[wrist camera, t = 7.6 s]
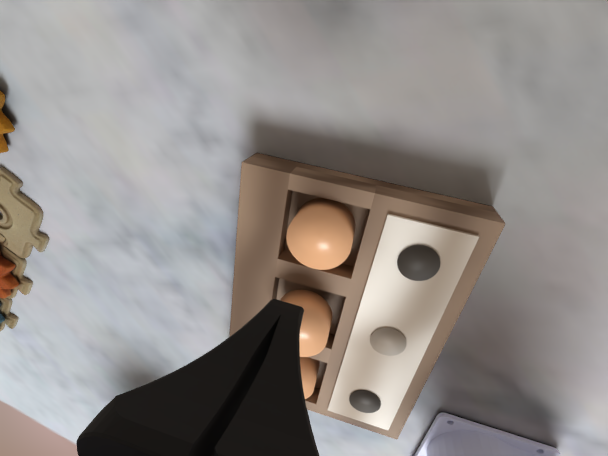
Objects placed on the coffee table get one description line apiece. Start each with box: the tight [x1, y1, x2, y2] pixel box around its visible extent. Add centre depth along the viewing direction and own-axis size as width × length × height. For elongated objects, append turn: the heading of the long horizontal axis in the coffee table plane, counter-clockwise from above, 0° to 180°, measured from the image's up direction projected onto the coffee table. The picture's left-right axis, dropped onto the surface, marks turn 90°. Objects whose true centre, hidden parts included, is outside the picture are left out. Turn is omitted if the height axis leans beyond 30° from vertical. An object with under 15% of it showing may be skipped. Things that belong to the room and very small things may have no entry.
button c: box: [300, 357, 320, 399], centre depth 27 cm, size 4×4×2 cm
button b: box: [280, 290, 332, 357], centre depth 23 cm, size 4×4×2 cm
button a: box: [286, 198, 355, 270], centre depth 21 cm, size 4×4×2 cm
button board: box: [230, 153, 505, 439], centre depth 24 cm, size 15×20×3 cm
